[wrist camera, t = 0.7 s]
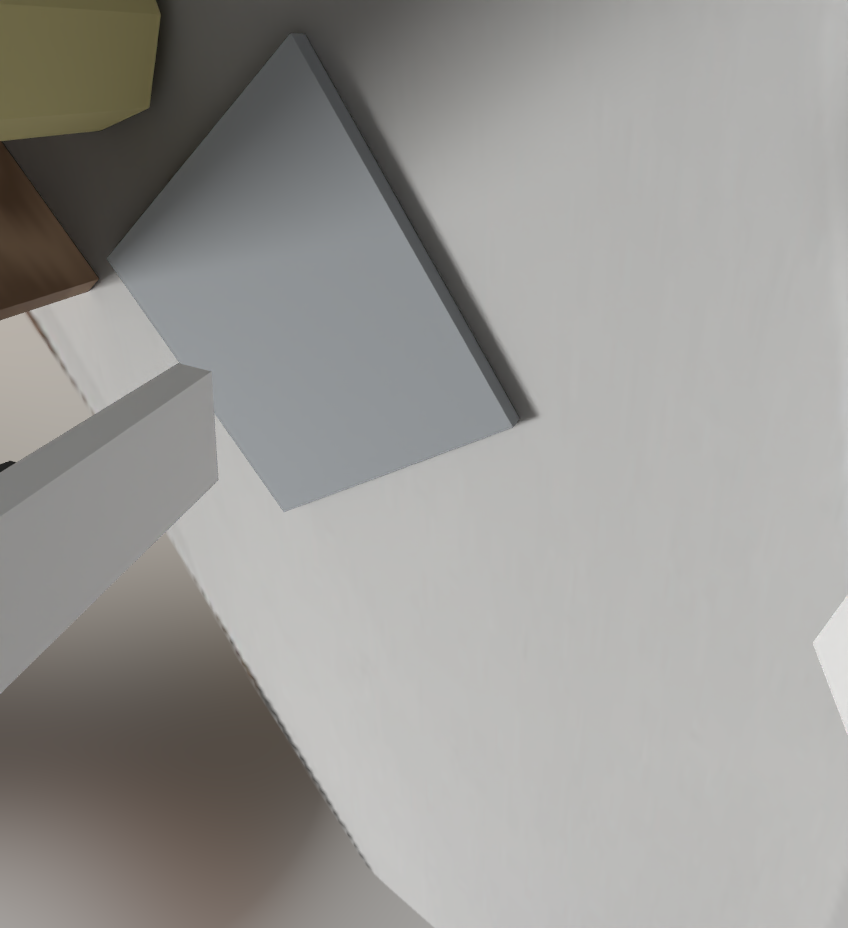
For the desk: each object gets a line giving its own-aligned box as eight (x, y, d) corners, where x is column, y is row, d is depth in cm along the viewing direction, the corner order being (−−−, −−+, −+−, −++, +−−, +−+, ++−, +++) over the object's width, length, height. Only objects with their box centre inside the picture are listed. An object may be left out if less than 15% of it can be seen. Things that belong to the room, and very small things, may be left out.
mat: (119, 254, 31) (106, 258, 31) (304, 33, 21) (290, 33, 21) (292, 504, 35) (283, 512, 34) (519, 418, 25) (512, 427, 24)
